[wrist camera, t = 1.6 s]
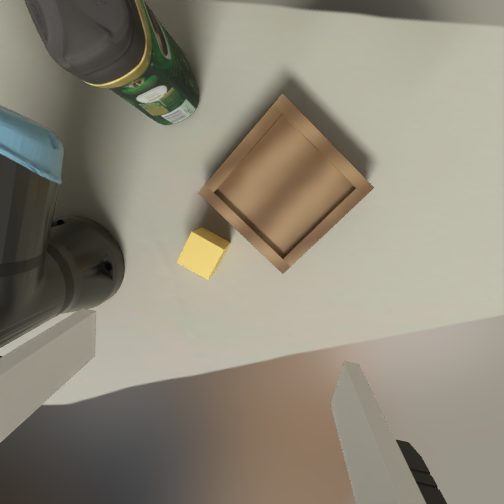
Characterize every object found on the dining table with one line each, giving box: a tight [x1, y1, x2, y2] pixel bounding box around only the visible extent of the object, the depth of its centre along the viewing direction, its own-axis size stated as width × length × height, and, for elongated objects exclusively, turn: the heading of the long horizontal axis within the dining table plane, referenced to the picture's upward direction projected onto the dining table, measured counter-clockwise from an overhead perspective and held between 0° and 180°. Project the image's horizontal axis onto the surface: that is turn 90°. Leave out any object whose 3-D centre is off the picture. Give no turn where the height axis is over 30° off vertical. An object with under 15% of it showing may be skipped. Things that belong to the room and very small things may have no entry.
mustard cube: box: [177, 227, 230, 280], centre depth 38 cm, size 5×5×5 cm
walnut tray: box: [198, 93, 374, 274], centre depth 35 cm, size 16×16×4 cm
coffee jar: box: [25, 0, 198, 125], centre depth 27 cm, size 10×8×19 cm
